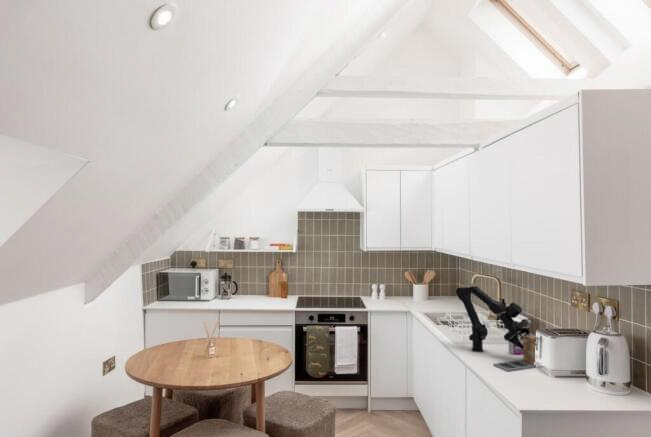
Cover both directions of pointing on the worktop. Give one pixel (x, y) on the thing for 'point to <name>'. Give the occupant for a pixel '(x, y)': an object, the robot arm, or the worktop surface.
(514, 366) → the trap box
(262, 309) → the worktop surface
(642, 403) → the worktop surface
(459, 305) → the worktop surface
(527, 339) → the walnut block
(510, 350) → the candy bar box
